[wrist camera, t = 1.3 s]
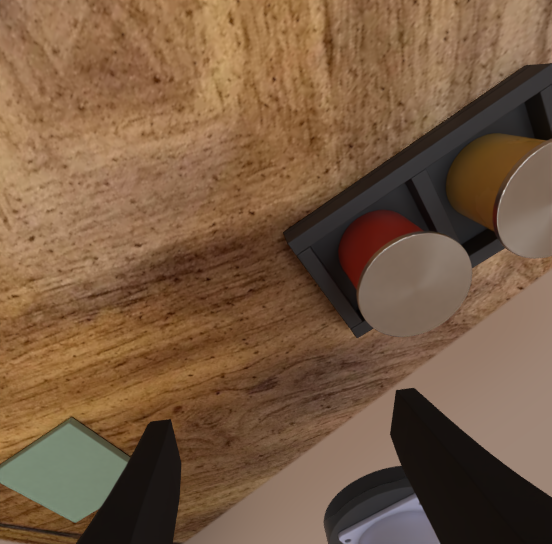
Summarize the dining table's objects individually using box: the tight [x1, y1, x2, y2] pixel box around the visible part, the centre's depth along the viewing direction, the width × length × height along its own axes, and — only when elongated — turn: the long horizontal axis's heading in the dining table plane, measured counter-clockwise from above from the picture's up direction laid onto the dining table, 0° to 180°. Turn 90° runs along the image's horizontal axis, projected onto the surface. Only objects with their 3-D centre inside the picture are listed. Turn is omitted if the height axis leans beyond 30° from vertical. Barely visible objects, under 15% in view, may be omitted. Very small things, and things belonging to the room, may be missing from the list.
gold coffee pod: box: [446, 133, 552, 258], centre depth 17 cm, size 5×5×5 cm
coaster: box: [0, 417, 131, 523], centre depth 25 cm, size 7×7×1 cm
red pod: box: [338, 210, 472, 337], centre depth 18 cm, size 5×5×5 cm
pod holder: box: [283, 63, 552, 338], centre depth 19 cm, size 7×14×2 cm, turn 124°
